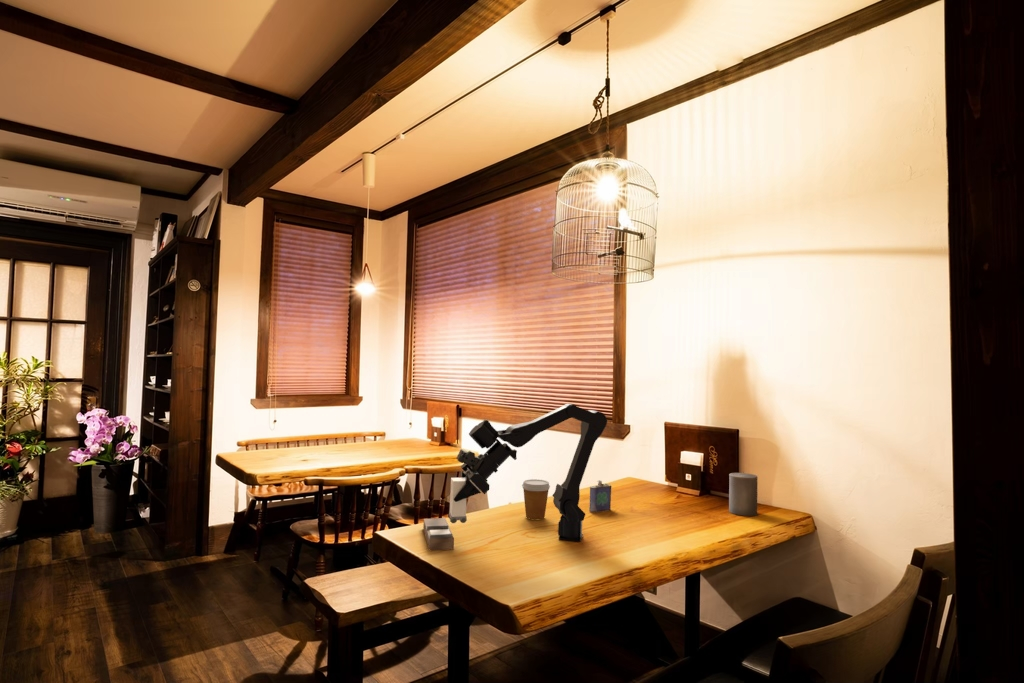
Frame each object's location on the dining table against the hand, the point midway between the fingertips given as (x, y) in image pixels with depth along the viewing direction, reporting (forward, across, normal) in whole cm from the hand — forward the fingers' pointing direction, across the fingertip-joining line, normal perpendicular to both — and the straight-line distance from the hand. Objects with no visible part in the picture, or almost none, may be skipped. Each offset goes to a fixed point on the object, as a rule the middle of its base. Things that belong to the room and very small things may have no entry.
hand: (453, 498), depth 165 cm
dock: (+12, -5, +7) cm, 14 cm away
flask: (-31, -29, +49) cm, 65 cm away
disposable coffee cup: (-13, -23, +31) cm, 41 cm away
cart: (+4, 0, +6) cm, 7 cm away
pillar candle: (-68, -19, +86) cm, 111 cm away
